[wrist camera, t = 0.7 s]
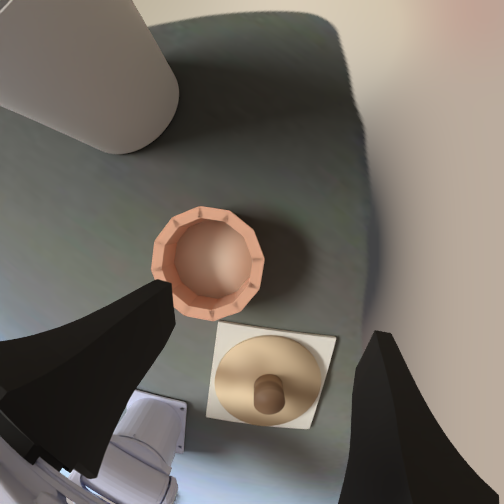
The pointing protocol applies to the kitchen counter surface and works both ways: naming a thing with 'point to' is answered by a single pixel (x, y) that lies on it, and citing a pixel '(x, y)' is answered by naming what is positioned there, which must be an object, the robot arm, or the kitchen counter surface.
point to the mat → (237, 333)
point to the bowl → (209, 262)
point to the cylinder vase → (86, 71)
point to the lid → (267, 380)
